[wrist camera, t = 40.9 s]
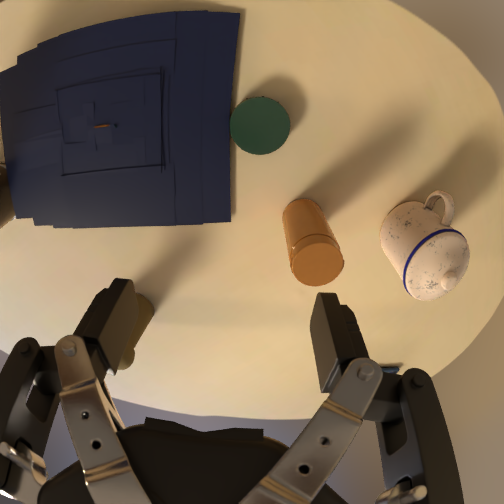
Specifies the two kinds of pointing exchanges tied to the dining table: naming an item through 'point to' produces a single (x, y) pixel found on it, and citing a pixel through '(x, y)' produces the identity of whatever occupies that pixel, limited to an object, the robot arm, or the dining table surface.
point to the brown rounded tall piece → (137, 330)
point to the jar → (311, 244)
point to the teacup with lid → (425, 247)
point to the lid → (259, 125)
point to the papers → (123, 123)
